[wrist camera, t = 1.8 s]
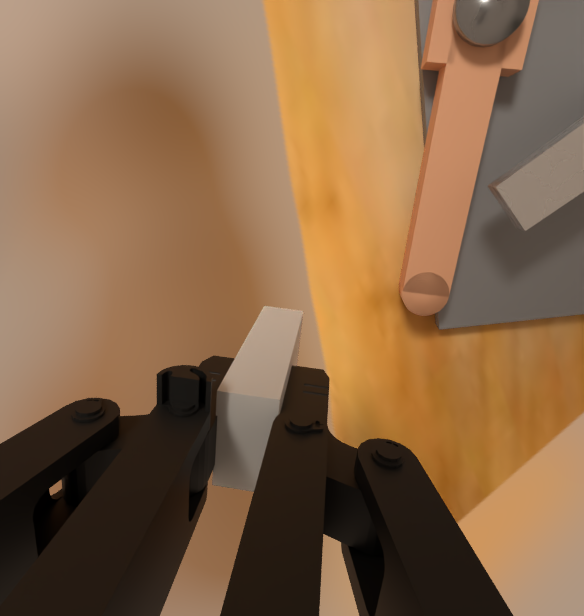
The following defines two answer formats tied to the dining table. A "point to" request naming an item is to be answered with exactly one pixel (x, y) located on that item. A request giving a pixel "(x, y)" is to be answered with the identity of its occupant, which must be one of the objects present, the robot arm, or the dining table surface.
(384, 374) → the dining table surface
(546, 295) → the board
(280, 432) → the robot arm
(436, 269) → the link
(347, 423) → the dining table surface
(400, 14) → the dining table surface
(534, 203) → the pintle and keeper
